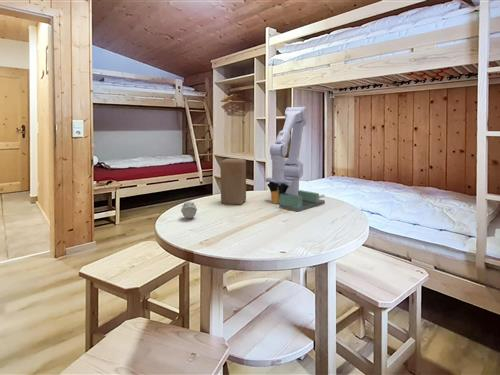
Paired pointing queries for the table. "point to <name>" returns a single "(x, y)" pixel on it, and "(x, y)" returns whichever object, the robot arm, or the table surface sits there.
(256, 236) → the table surface
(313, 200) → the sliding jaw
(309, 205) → the base
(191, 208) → the grey rounded lump
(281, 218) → the table surface
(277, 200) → the orange cube
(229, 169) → the block
